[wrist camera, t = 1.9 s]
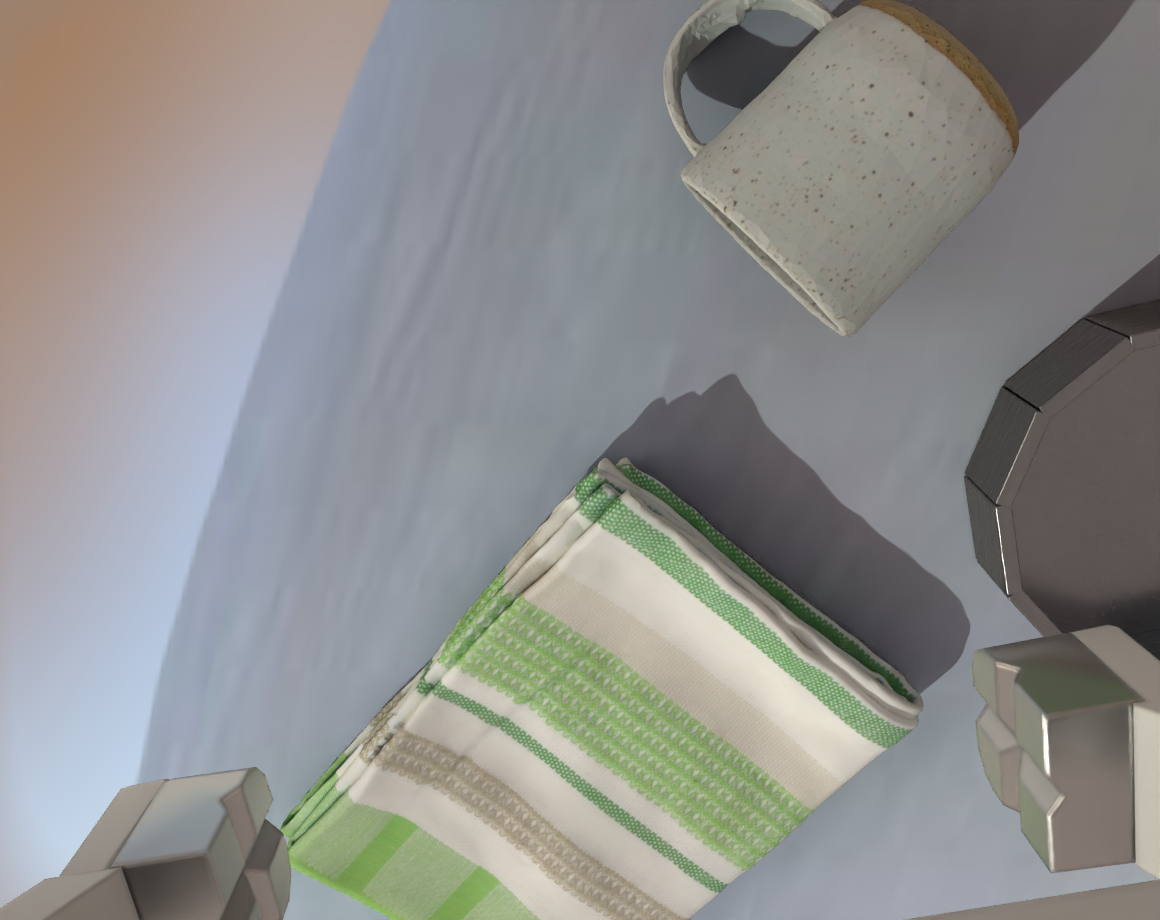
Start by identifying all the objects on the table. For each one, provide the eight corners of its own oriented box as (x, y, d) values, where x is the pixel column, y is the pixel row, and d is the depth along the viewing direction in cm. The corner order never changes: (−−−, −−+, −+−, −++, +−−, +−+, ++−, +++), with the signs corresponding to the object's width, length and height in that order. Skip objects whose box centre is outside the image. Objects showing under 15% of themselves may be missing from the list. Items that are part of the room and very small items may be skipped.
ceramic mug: (988, 146, 35) (1083, 149, 28) (818, 320, 37) (866, 364, 30) (771, -77, 33) (812, -137, 26) (605, 119, 36) (600, 114, 28)
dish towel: (926, 689, 42) (953, 738, 39) (574, 1012, 48) (572, 1078, 45) (610, 435, 39) (610, 464, 36) (277, 814, 45) (250, 869, 42)
